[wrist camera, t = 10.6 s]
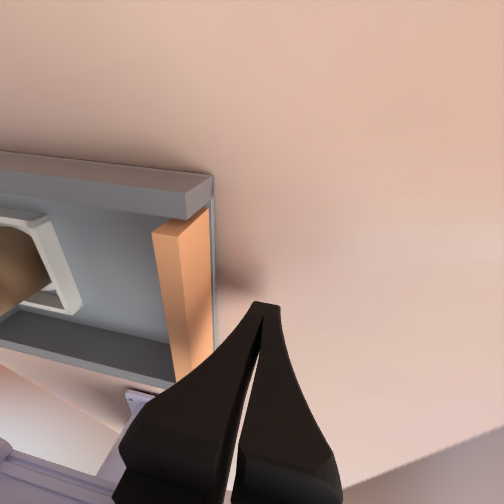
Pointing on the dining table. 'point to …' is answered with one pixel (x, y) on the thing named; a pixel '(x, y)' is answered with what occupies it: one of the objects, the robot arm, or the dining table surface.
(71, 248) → the housing
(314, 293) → the dining table surface
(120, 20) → the dining table surface
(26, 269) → the brown rounded block
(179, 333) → the gate
